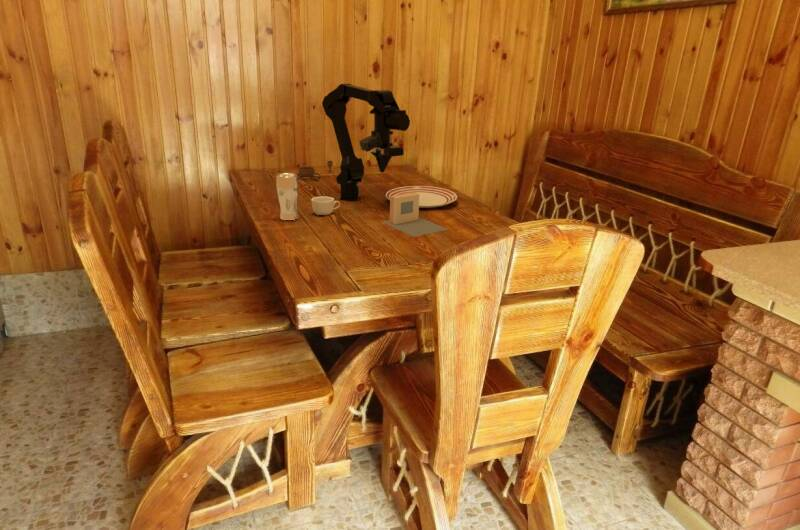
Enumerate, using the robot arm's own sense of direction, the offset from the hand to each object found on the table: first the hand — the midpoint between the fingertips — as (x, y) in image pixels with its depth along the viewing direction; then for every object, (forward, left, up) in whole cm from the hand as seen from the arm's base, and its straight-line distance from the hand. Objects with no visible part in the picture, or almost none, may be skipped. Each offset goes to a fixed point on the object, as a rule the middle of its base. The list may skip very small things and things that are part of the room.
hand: (381, 172), depth 194 cm
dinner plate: (+14, +10, -14) cm, 22 cm away
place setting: (-36, +44, -14) cm, 59 cm away
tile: (+10, -17, -13) cm, 23 cm away
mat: (+14, -21, -13) cm, 29 cm away
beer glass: (-29, -20, -13) cm, 38 cm away
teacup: (-18, -12, -13) cm, 25 cm away
